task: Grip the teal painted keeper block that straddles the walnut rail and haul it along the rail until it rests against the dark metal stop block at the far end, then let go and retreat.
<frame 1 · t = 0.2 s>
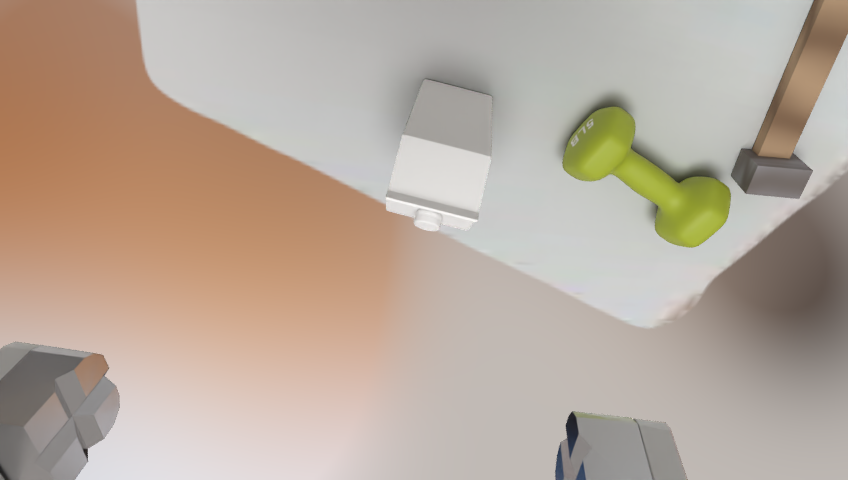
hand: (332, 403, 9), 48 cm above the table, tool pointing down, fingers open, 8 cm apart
rail: (821, 27, 48), on the table
milk carton: (449, 118, 56), on the table
dumbbell: (637, 162, 57), on the table
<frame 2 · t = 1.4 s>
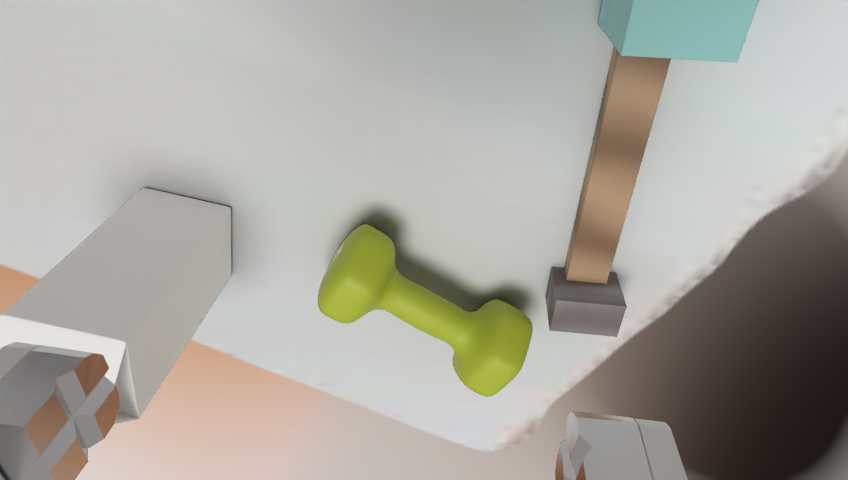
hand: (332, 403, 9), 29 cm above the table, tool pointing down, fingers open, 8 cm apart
rail: (619, 128, 36), on the table
milk carton: (191, 231, 45), on the table
dumbbell: (430, 280, 45), on the table
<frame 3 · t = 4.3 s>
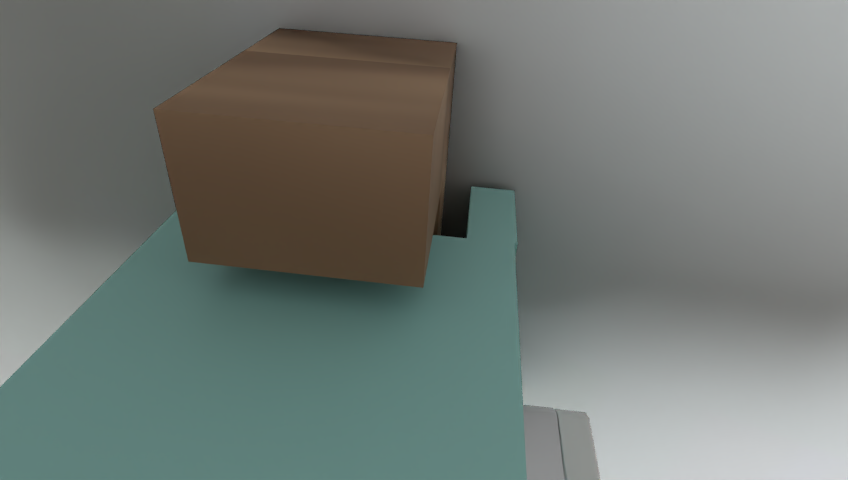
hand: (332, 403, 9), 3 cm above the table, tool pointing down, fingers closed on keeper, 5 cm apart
keeper: (325, 427, 9), point 4 cm above the table, slide at 0.0 cm, touching gripper
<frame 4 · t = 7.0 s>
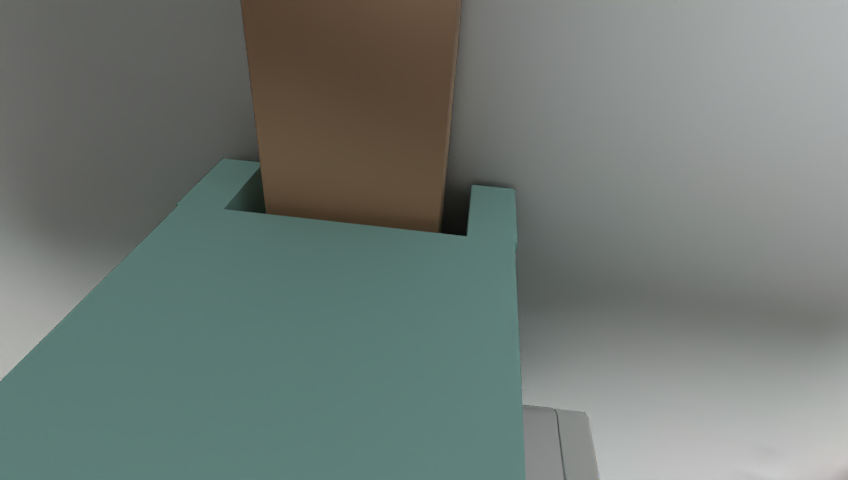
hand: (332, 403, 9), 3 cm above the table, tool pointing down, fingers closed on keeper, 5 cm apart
rail: (368, 295, 12), on the table
keeper: (325, 424, 9), point 4 cm above the table, slide at 9.4 cm, touching gripper
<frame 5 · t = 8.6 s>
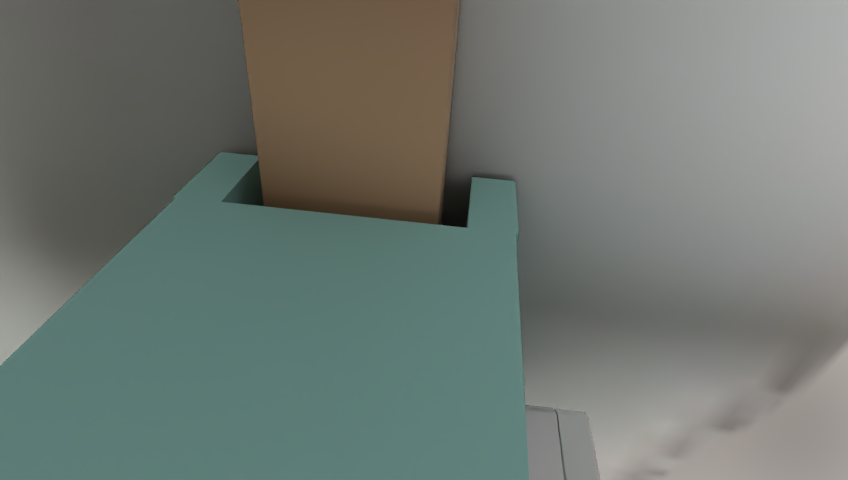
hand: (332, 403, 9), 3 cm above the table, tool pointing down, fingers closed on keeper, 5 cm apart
keeper: (324, 419, 9), point 4 cm above the table, slide at 18.0 cm, touching gripper
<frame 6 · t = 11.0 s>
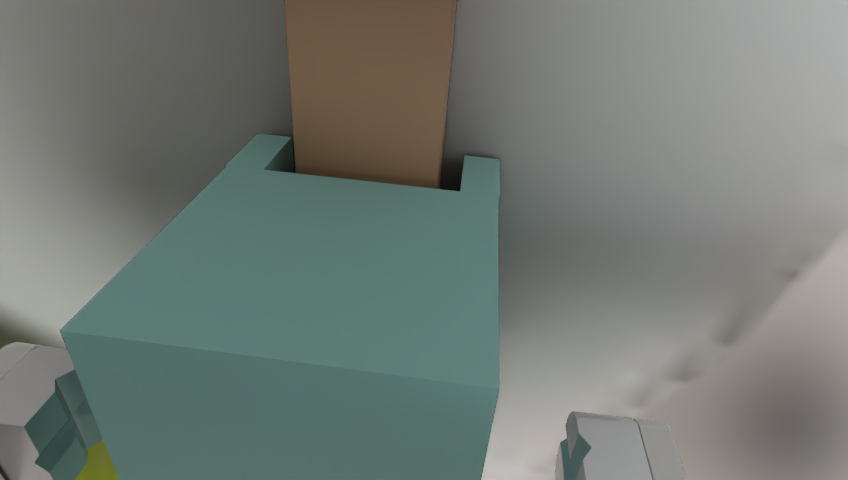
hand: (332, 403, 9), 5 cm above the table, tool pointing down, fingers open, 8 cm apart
dumbbell: (24, 351, 18), on the table
keeper: (343, 346, 11), point 4 cm above the table, slide at 18.0 cm
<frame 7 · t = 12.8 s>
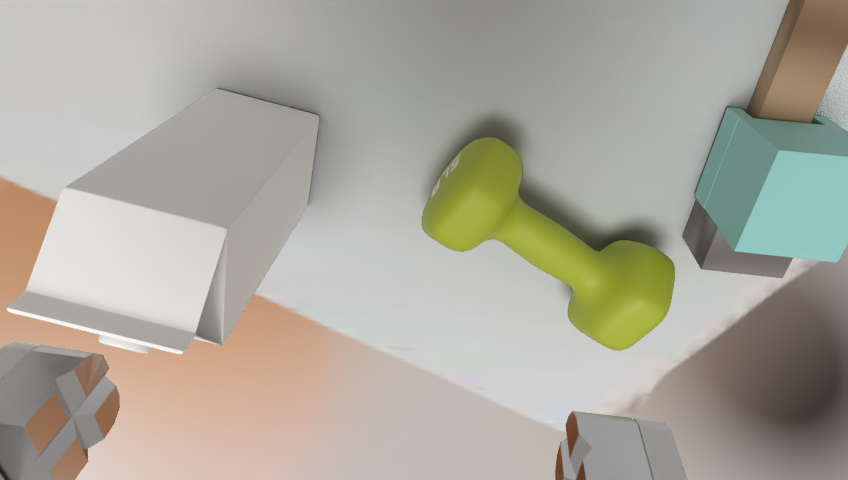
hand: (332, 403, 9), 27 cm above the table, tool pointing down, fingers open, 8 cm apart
rail: (814, 12, 30), on the table
milk carton: (266, 148, 38), on the table
dumbbell: (542, 217, 38), on the table
keeper: (780, 181, 31), point 4 cm above the table, slide at 18.0 cm
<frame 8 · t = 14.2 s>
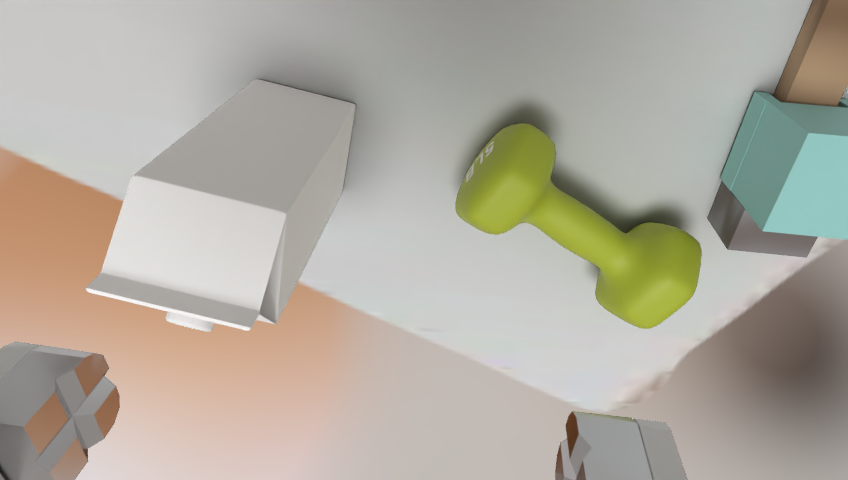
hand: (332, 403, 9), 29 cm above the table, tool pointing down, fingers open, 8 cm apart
milk carton: (302, 136, 39), on the table
dumbbell: (570, 201, 39), on the table
keeper: (806, 163, 32), point 4 cm above the table, slide at 18.0 cm
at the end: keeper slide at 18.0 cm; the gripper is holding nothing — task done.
